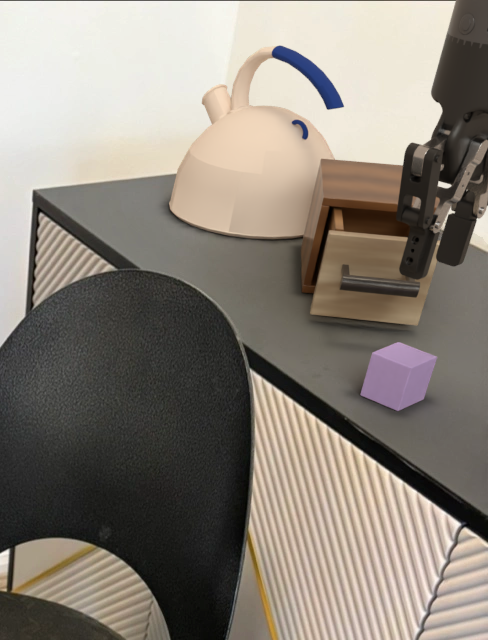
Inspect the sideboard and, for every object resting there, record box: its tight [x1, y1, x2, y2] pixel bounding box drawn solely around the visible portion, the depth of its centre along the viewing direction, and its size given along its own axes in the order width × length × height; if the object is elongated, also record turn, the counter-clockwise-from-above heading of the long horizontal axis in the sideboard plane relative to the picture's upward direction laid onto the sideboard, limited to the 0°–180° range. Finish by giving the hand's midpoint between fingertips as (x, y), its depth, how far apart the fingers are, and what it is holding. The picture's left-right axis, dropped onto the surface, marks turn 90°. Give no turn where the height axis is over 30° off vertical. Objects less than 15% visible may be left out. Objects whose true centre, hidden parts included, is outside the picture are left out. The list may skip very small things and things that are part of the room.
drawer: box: [309, 206, 441, 326], centre depth 111 cm, size 18×10×8 cm, turn 167°
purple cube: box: [359, 341, 438, 412], centre depth 98 cm, size 4×4×4 cm
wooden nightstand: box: [300, 159, 440, 295], centre depth 120 cm, size 15×12×10 cm
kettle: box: [168, 45, 345, 240], centre depth 132 cm, size 20×21×18 cm
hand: (430, 268), depth 92 cm, fingers open, 4 cm apart
